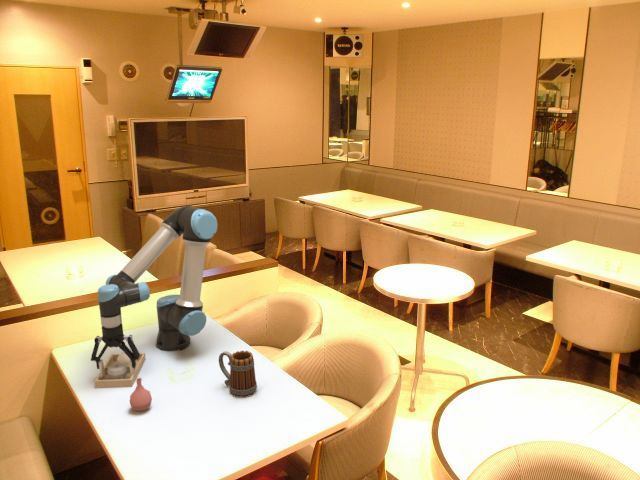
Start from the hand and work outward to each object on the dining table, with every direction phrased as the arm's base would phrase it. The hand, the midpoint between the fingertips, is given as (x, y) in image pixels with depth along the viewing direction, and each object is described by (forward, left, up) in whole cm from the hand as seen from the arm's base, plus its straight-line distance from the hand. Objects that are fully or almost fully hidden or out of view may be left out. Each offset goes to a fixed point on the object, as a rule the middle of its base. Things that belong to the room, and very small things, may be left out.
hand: (117, 375), depth 217 cm
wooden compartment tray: (0, -5, -3) cm, 6 cm away
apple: (0, 0, -2) cm, 2 cm away
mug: (-48, +10, -3) cm, 49 cm away
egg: (0, -11, -2) cm, 11 cm away
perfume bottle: (-14, +21, -3) cm, 25 cm away
